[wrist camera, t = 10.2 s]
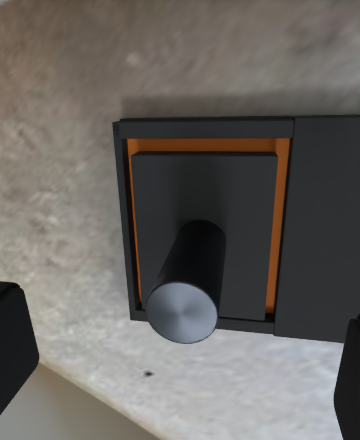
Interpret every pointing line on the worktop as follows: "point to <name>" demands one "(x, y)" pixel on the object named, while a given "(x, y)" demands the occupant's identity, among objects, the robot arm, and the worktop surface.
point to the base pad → (283, 212)
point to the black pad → (209, 198)
